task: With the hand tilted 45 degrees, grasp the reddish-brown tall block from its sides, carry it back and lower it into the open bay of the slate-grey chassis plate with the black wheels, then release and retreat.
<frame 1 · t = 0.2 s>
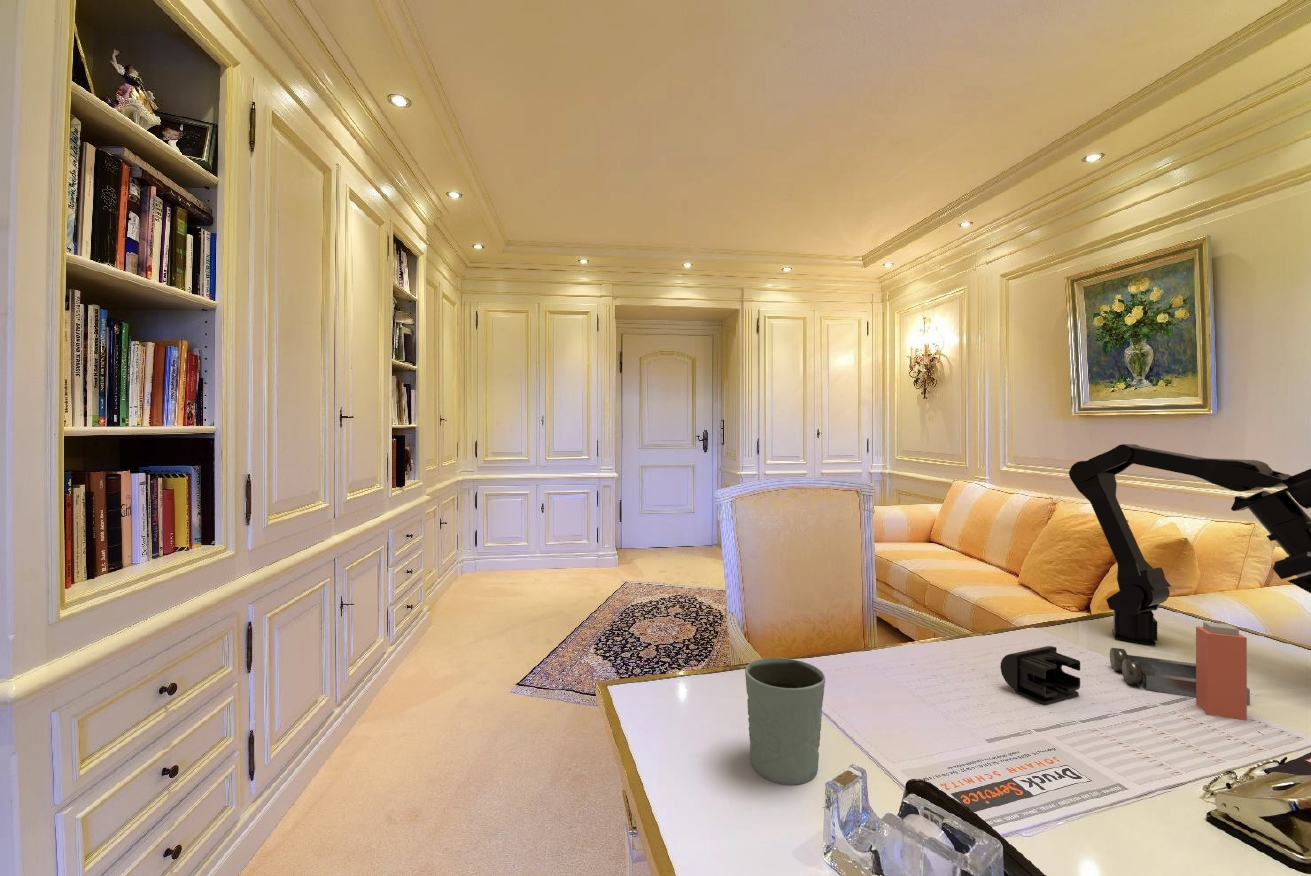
grey cup: (784, 765, 71), on the table
chassis: (1181, 685, 95), on the table
end cap: (1040, 693, 92), on the table
reddish-brown tall block: (1220, 712, 85), on the table
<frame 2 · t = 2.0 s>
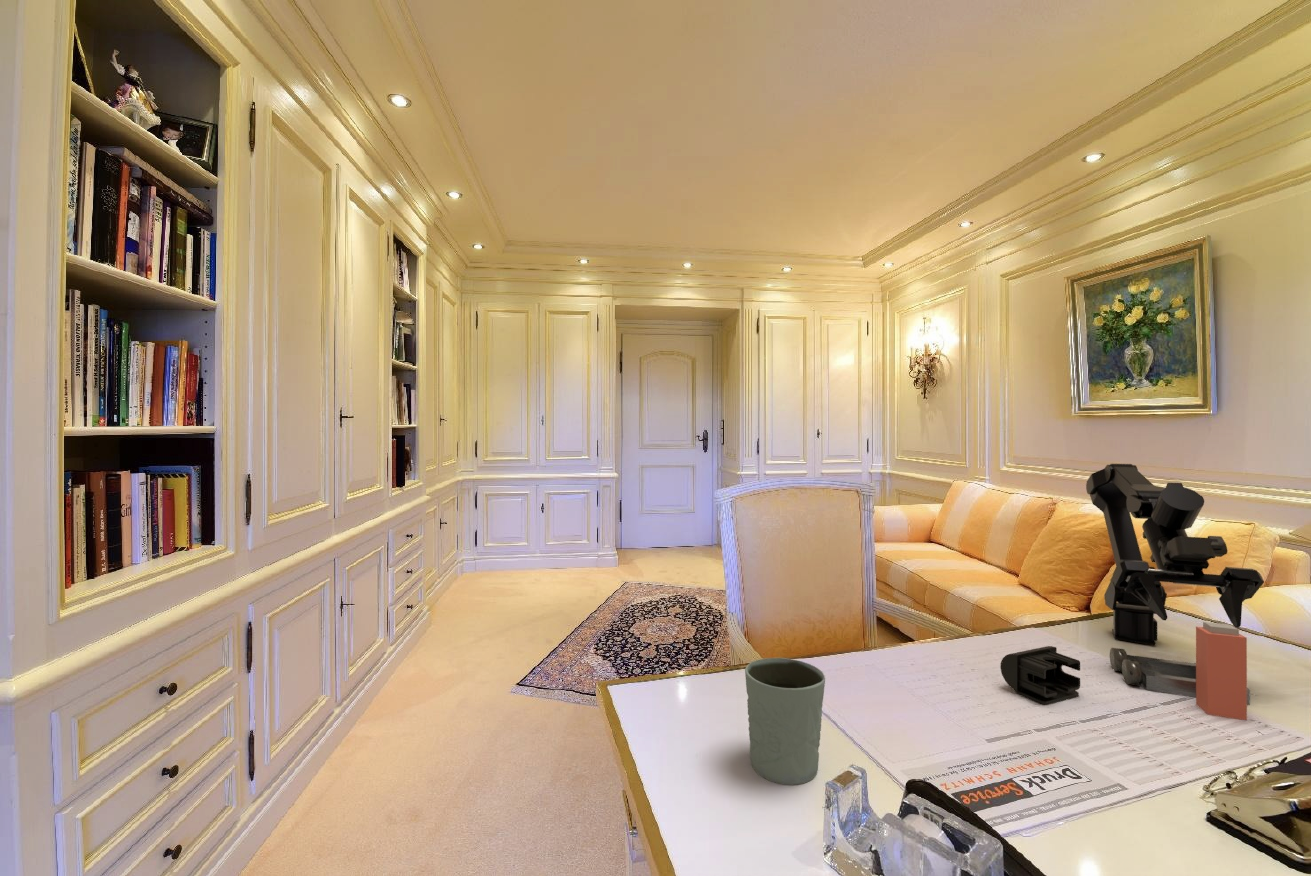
hand: (1201, 622, 91), 12 cm above the table, tool tilted 45°, fingers open, 9 cm apart
nothing on the table moved.
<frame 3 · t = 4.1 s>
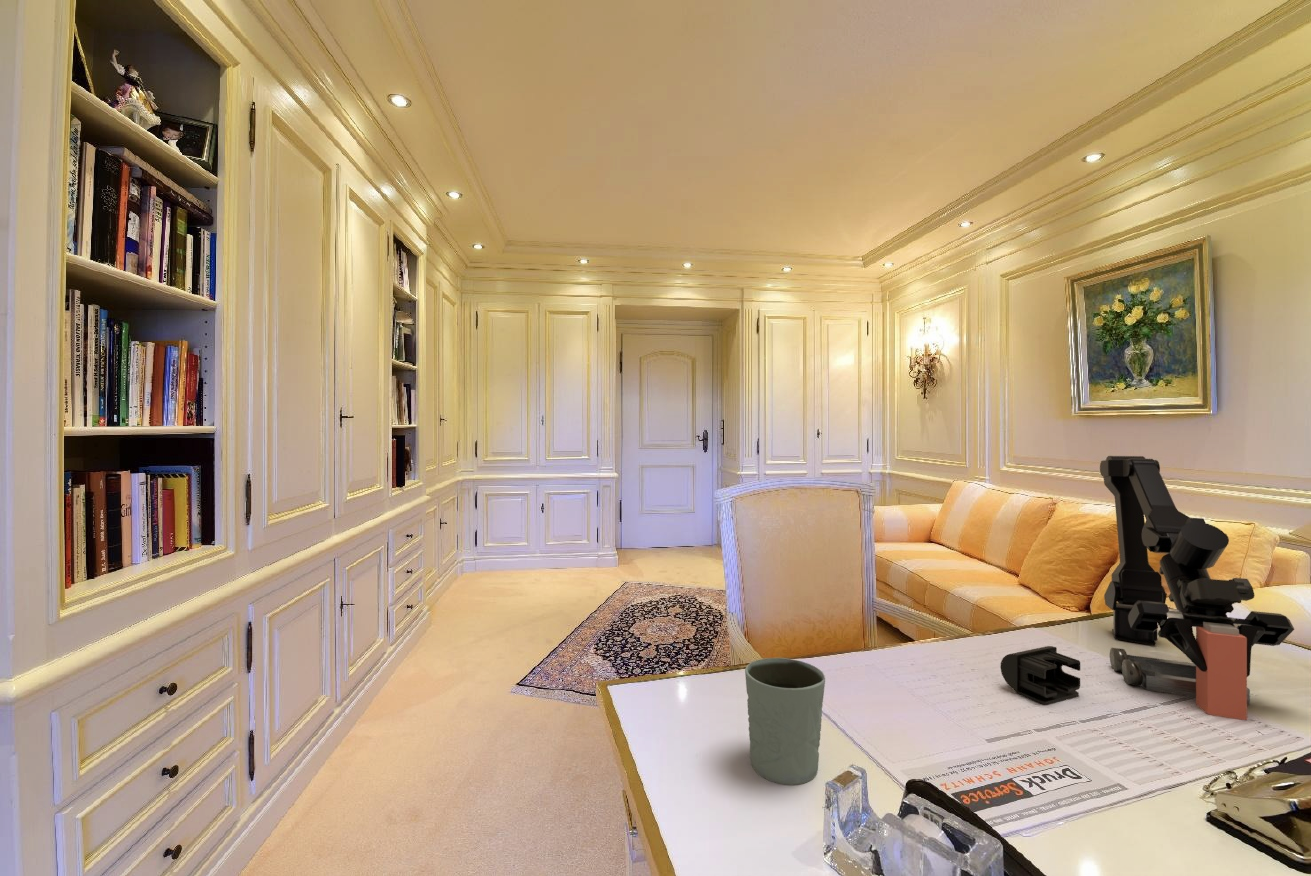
hand: (1225, 673, 84), 7 cm above the table, tool tilted 45°, fingers closed on reddish-brown tall block, 4 cm apart
reddish-brown tall block: (1220, 712, 85), on the table, touching gripper
everything else where it was.
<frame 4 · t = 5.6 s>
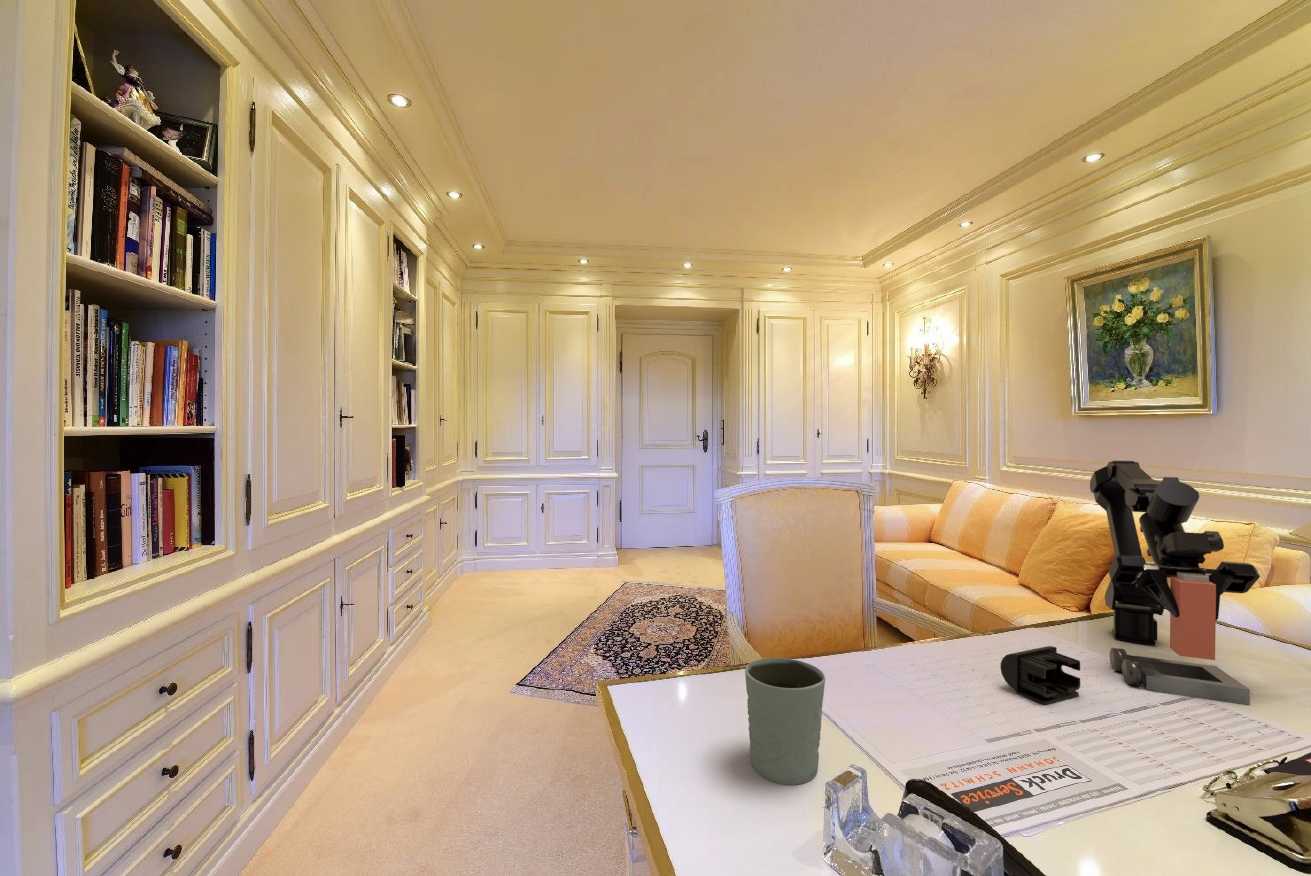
hand: (1196, 617, 91), 13 cm above the table, tool tilted 45°, fingers closed on reddish-brown tall block, 4 cm apart
reddish-brown tall block: (1191, 654, 92), point 6 cm above the table, touching gripper
everything else where it was.
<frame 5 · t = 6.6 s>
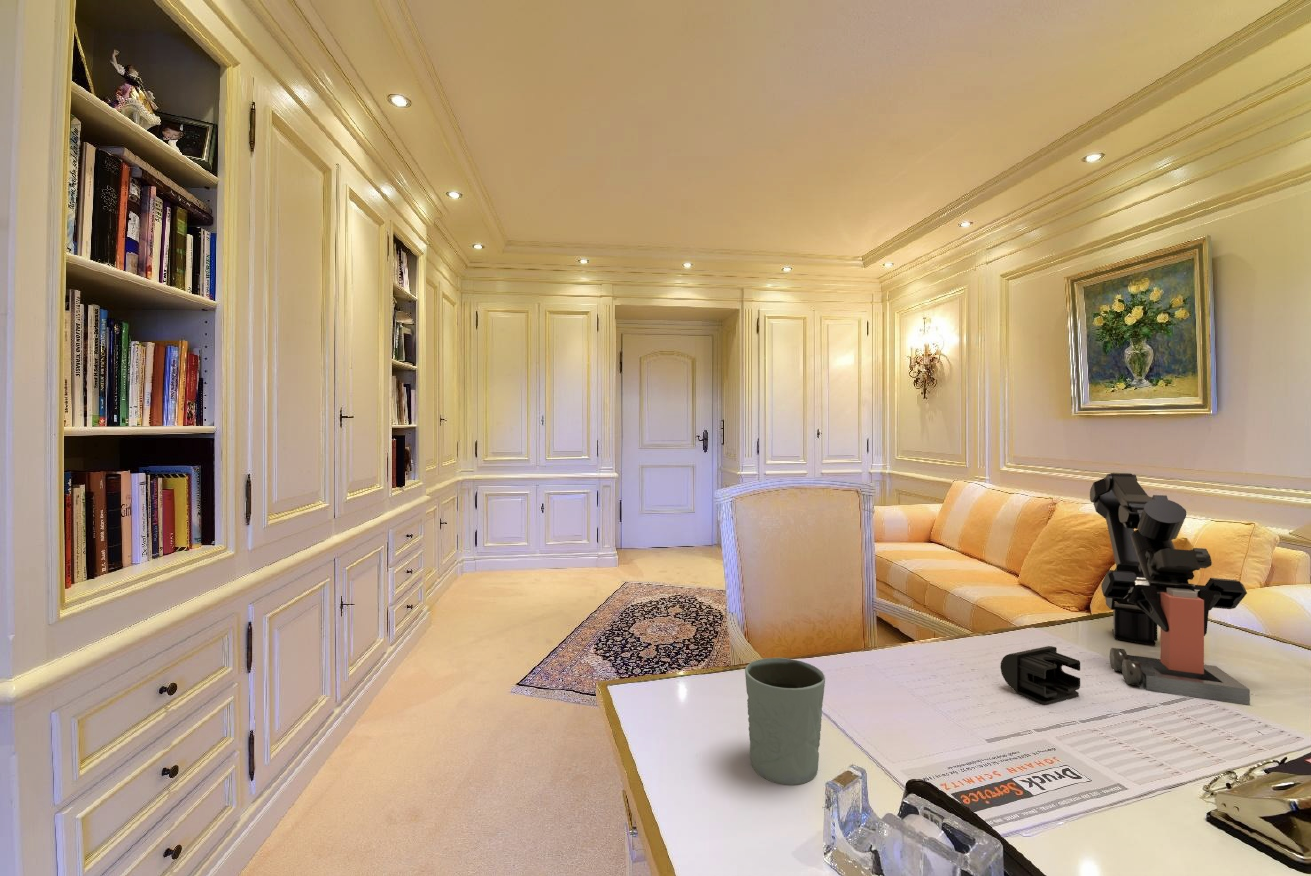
hand: (1185, 632, 94), 9 cm above the table, tool tilted 45°, fingers closed on reddish-brown tall block, 4 cm apart
reddish-brown tall block: (1181, 667, 95), point 3 cm above the table, touching gripper
everything else where it was.
when the fingers open (8 cm above the table, at t = 7.3 s): reddish-brown tall block drops 1 cm, resting in chassis.
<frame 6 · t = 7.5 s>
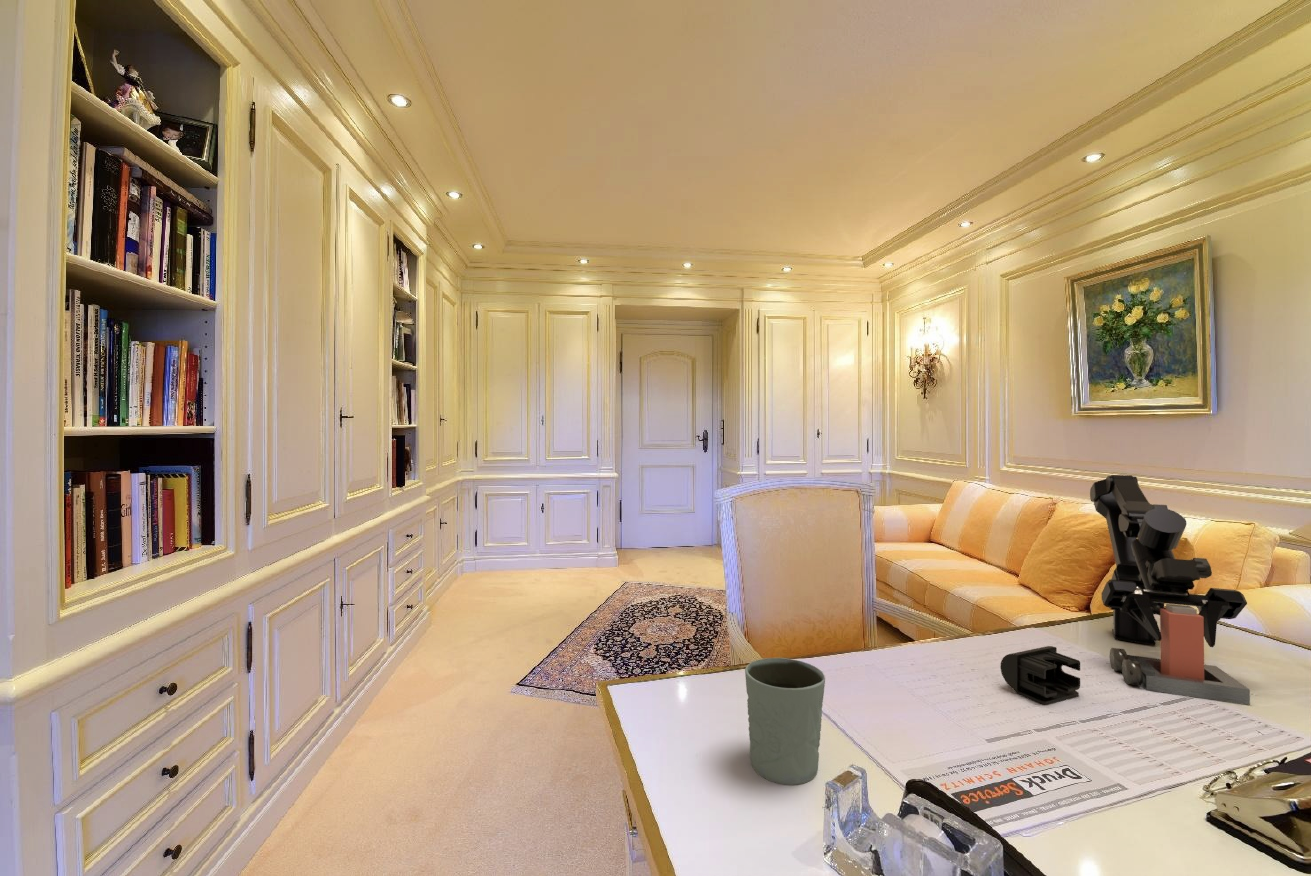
hand: (1185, 642, 94), 8 cm above the table, tool tilted 45°, fingers open, 7 cm apart
reddish-brown tall block: (1182, 685, 95), resting in chassis
everything else where it was.
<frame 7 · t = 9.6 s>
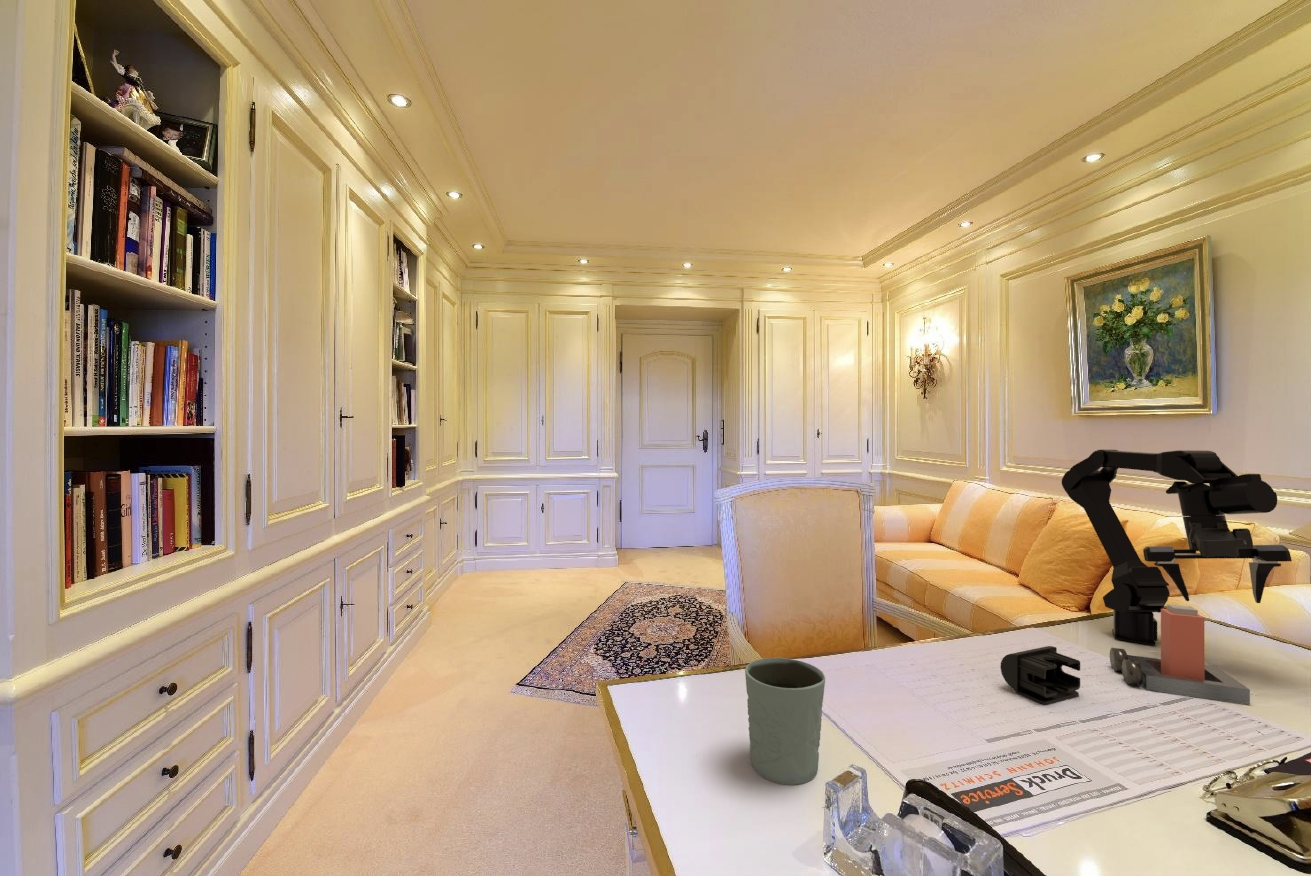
hand: (1221, 601, 100), 13 cm above the table, tool pointing down, fingers open, 9 cm apart
nothing on the table moved.
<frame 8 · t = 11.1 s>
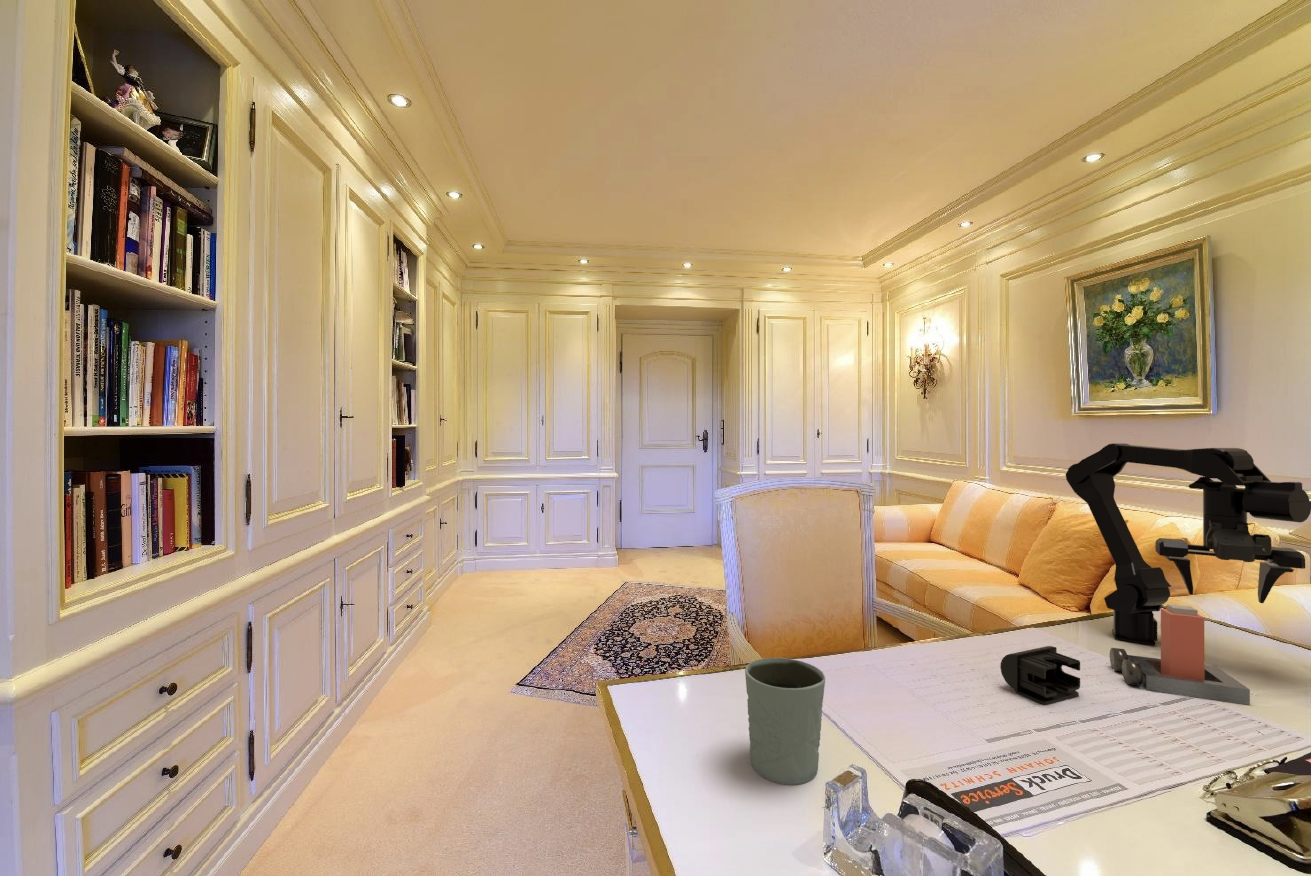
hand: (1225, 598, 102), 13 cm above the table, tool pointing down, fingers open, 9 cm apart
nothing on the table moved.
at the end: reddish-brown tall block inside the target area on the chassis (0.0 cm from its centre), point 0.0 cm above the chassis's base; reddish-brown tall block tilted 0°; the gripper is holding nothing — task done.
